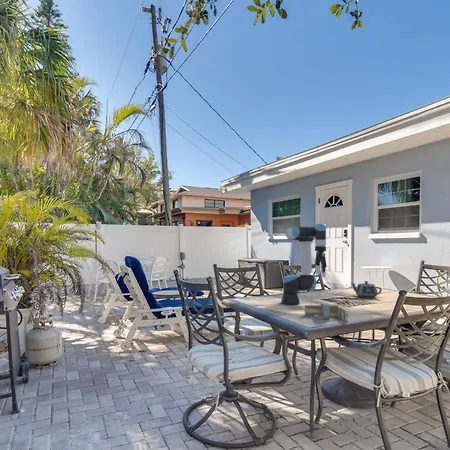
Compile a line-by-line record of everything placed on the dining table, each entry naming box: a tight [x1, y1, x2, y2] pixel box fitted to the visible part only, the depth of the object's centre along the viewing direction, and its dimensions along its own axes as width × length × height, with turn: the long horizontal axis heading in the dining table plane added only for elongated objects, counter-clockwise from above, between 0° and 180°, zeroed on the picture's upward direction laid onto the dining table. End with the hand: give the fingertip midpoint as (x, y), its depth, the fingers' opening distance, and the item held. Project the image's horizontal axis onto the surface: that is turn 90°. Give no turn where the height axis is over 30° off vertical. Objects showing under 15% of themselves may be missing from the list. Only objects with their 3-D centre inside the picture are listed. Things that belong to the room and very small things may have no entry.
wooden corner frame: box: [304, 304, 349, 323], centre depth 224 cm, size 18×24×7 cm
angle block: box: [313, 302, 331, 320], centre depth 221 cm, size 9×6×10 cm, turn 90°
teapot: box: [350, 280, 383, 299], centre depth 308 cm, size 19×31×15 cm, turn 38°
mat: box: [309, 316, 334, 322], centre depth 221 cm, size 10×13×1 cm
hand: (320, 275), depth 231 cm, fingers open, 13 cm apart
